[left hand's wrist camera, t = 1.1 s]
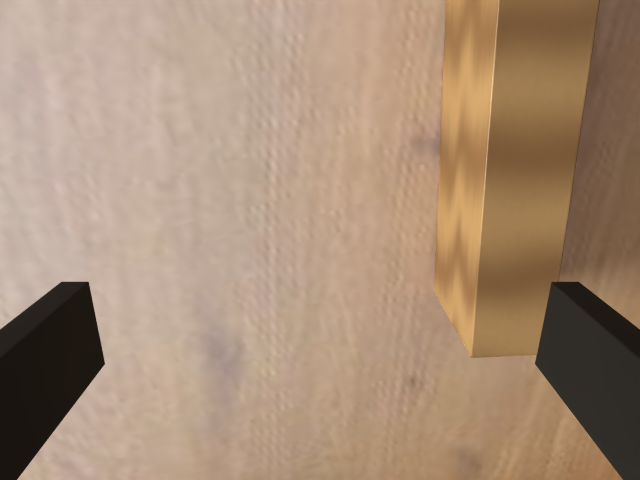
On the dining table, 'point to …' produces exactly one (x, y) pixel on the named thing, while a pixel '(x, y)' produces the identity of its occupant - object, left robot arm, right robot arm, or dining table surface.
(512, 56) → the bar
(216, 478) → the dining table surface
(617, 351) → the left robot arm
